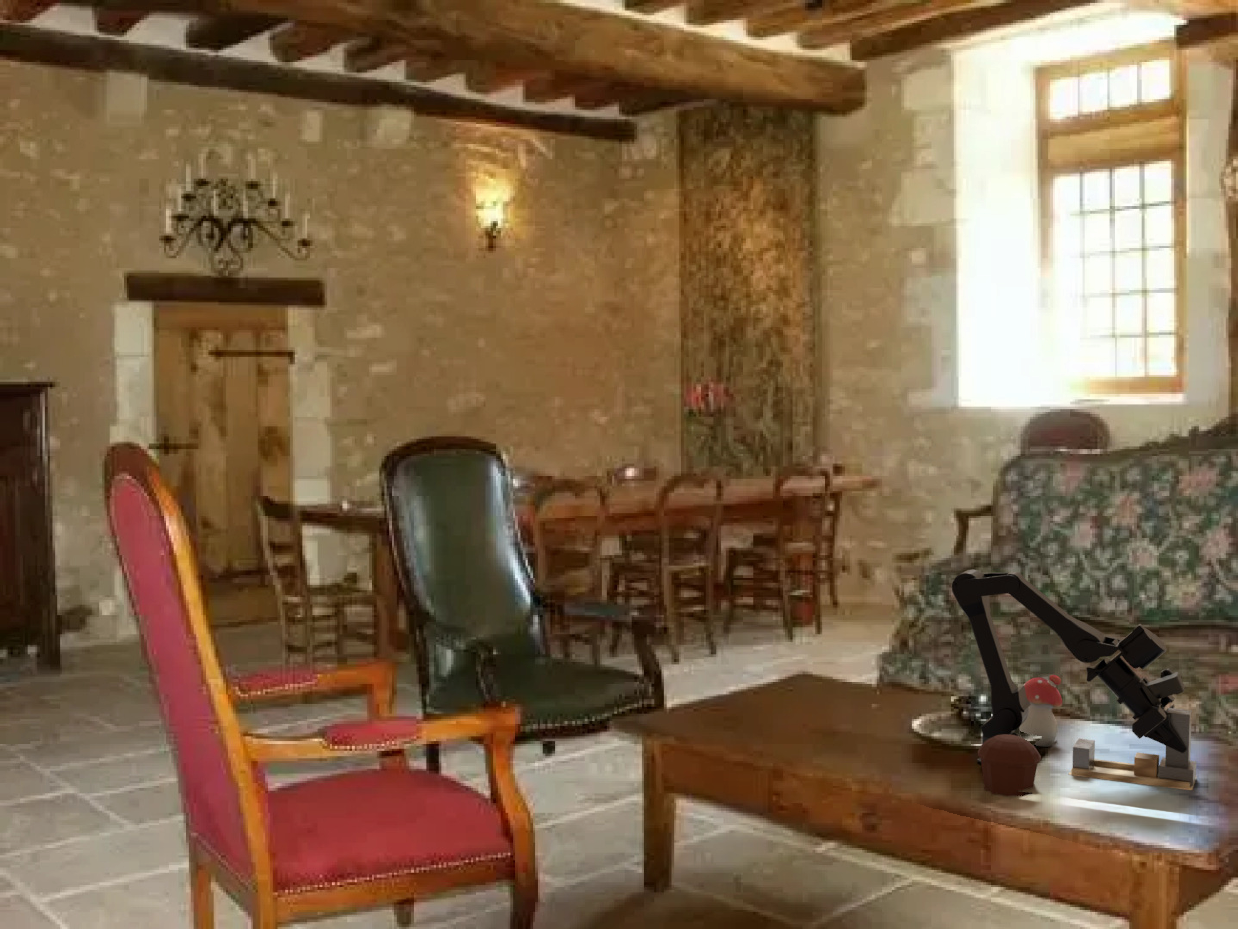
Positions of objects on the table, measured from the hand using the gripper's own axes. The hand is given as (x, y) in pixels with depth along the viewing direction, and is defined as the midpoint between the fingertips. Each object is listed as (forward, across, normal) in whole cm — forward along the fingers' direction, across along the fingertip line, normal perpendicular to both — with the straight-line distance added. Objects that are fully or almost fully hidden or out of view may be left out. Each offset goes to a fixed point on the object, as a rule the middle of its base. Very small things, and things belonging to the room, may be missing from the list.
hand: (1186, 748), depth 263 cm
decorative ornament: (-16, +20, +27) cm, 37 cm away
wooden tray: (-1, 0, +12) cm, 12 cm away
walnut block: (0, 0, +9) cm, 9 cm away
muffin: (-15, -16, +26) cm, 34 cm away
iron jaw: (-8, 0, +18) cm, 19 cm away
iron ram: (+3, 0, +5) cm, 6 cm away
